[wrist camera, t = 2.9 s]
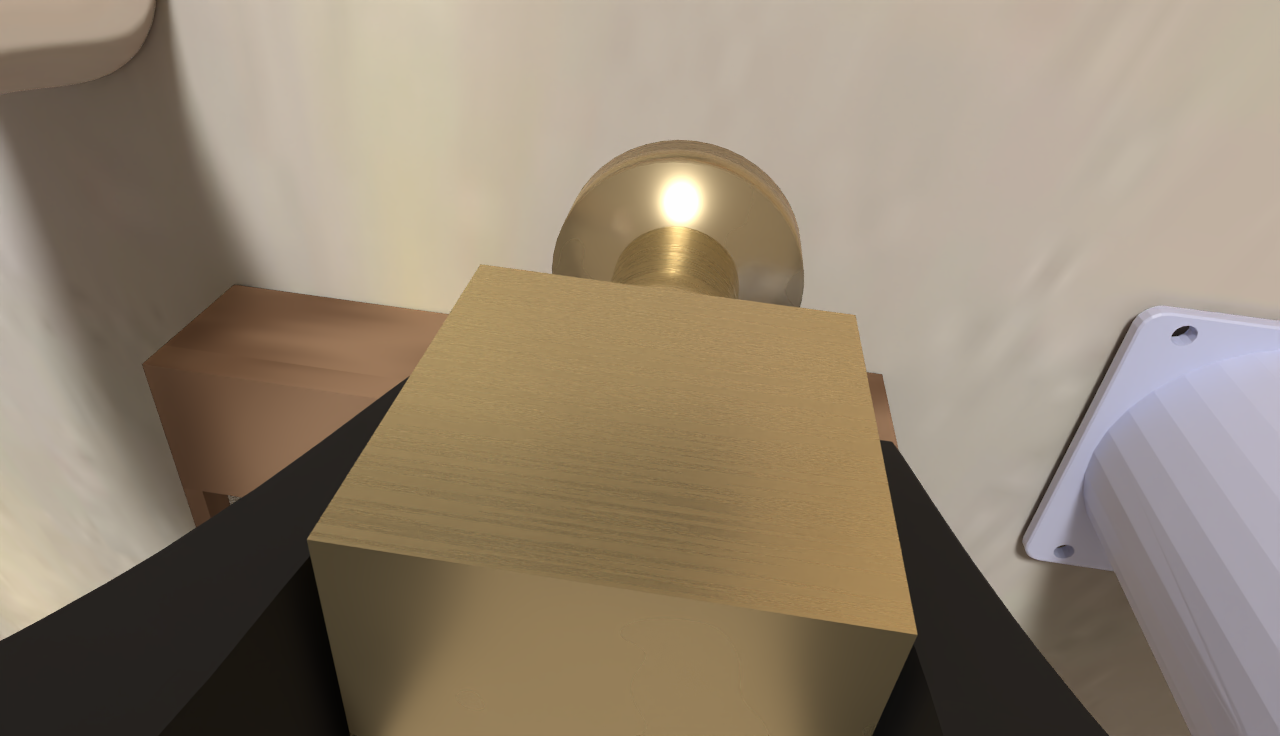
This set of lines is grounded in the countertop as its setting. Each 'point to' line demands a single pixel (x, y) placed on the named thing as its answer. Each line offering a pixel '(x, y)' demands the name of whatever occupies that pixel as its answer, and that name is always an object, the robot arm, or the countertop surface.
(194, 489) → the keyhole board
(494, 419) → the brass peg
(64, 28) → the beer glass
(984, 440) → the countertop surface
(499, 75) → the countertop surface
